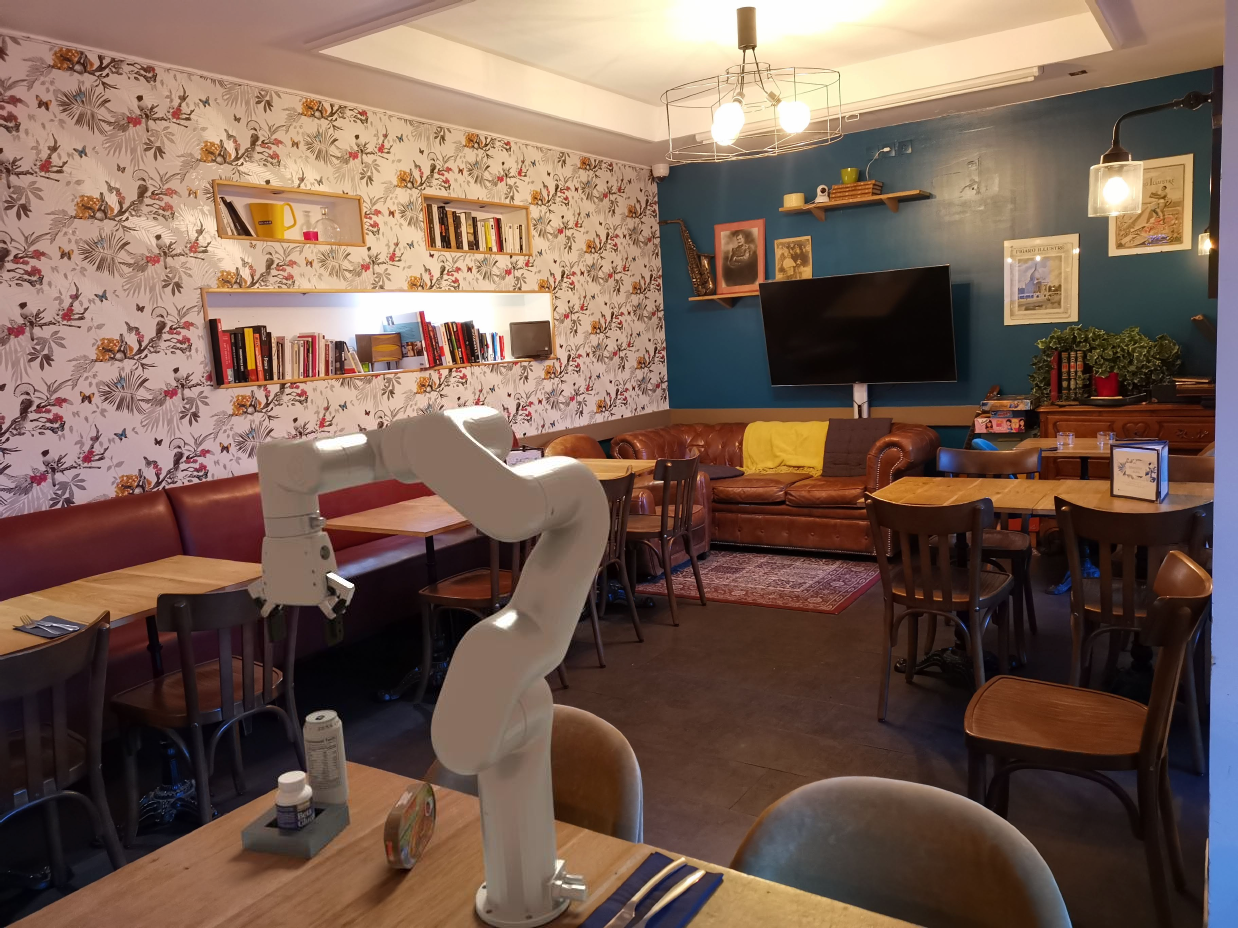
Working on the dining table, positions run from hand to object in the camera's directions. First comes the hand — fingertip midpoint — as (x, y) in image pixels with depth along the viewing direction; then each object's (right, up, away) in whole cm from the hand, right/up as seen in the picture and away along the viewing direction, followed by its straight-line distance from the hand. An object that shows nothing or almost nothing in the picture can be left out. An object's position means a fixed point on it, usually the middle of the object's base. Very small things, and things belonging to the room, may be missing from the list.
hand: (306, 641), depth 129 cm
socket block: (-4, -32, +8) cm, 33 cm away
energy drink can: (-2, -30, +18) cm, 35 cm away
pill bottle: (-4, -32, +8) cm, 33 cm away
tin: (+15, -32, +2) cm, 35 cm away
